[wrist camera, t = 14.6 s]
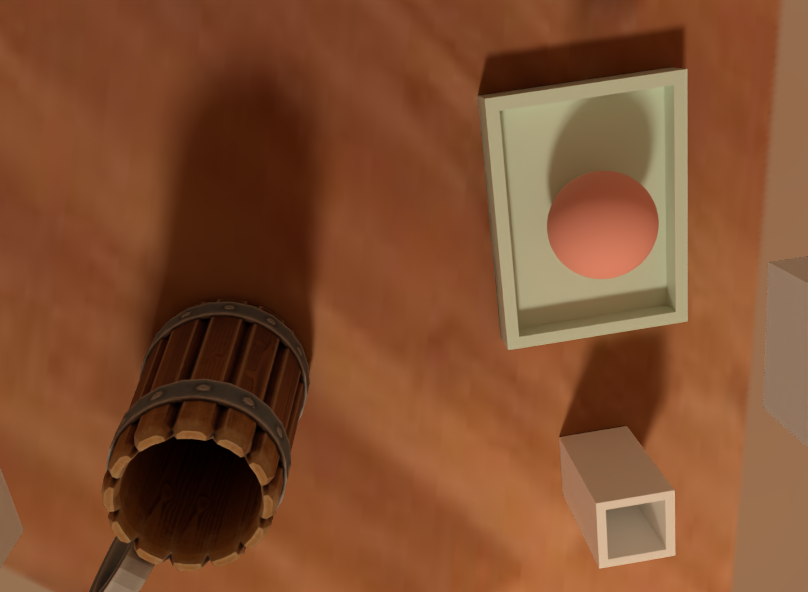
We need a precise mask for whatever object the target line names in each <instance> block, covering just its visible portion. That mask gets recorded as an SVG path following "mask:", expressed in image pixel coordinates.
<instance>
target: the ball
mask: <svg viewBox="0 0 808 592" xmlns="http://www.w3.org/2000/svg"><path fill="white" fill-rule="evenodd" d="M658 228H659V220H658V213H657V208H656V206H655V203H654V201H653V199H652V197H651V196H650V194H649V193H648V191H647V190H646V189H645V188H644V187H643V186H642V185H641V184H640V183H639V182H637V181H636V180H634V179H633V178H631V177H629V176H627V175H624V174H622V173H619V172H614V171H594V172H589V173H586V174H583V175H581V176H579V177H577V178H575V179H574V180H572V181H570V182H569V183H568V184H567V185H565V186H564V187H563V188H562V189H561V190H560V192H559V193H558V194H557V196H556V197H555V199H554V201H553V202H552V205H551V207H550V210H549V214H548V219H547V233H548V239H549V242H550V245H551V248H552V250H553V251H554V253H555V255H556V256H557V258H558V259H559V260H560V261H561V262H562V263H563V264H564V265H565V266H566V267H567V268H568V269H570V270H572V271H573V272H575V273H577V274H579V275H582V276H585V277H588V278H593V279H610V278H615V277H619V276H621V275H624V274H626V273H628V272H630V271H632V270H633V269H635V268H636V267H637V266H639V265H640V264H641V263H642V262H643V261H644V260H645V259H646V258H647V256H648V255H649V253H650V252H651V250H652V248H653V246H654V244H655V241H656V238H657V234H658Z"/></svg>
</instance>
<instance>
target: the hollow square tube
mask: <svg viewBox="0 0 808 592" xmlns="http://www.w3.org/2000/svg"><path fill="white" fill-rule="evenodd" d="M559 443H560V457H561V472H562V486H563V496H564V498H565V500H566V502H567V504H568V506H569V508H570V510H571V512H572V514H573V516H574V518H575V520H576V522H577V524H578V526H579V529H580V531H581V533H582V535H583V537H584V539H585V541H586V543H587V545H588V547H589V549H590V551H591V553H592V555H593V557H594V559H595V561H596V563H597V565H598V567H599V569H600V568H606V567H611V566H617V565H623V564H629V563H635V562H640V561H646V560H652V559H658V558H664V557H669V556H675V490H674V489H673V487H672V486H671V485H670V483H669V482H668V481H667V479H666V478H665V477H664V475H663V474H662V472H661V471H660V470H659V468H658V467H657V466H656V464H655V463H654V462H653V460H652V459H651V458H650V456H649V455H648V454H647V452H646V451H645V450H644V448H643V447H642V446H641V444H640V443H639V441H638V440H637V439H636V437H635V436H634V435H633V433H632V432H631V431H630V429H629V428H628V427H627V426H624V427H618V428H612V429H605V430H599V431H593V432H587V433H581V434H575V435H569V436H563V437H559Z"/></svg>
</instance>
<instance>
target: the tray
mask: <svg viewBox="0 0 808 592" xmlns="http://www.w3.org/2000/svg"><path fill="white" fill-rule="evenodd" d="M478 104H479V114H480V125H481V135H482V146H483V156H484V166H485V177H486V187H487V198H488V208H489V218H490V229H491V239H492V250H493V260H494V271H495V281H496V291H497V302H498V312H499V323H500V333H501V338H502V340H503V342H504V344H505V346H506V347H507V349H508V350H512V349H518V348H525V347H531V346H537V345H543V344H550V343H556V342H562V341H568V340H575V339H581V338H587V337H593V336H600V335H606V334H612V333H618V332H625V331H631V330H637V329H643V328H649V327H656V326H662V325H668V324H674V323H681V322H687V321H688V176H687V69H683V68H673V67H670V68H663V69H656V70H649V71H642V72H636V73H629V74H622V75H615V76H608V77H602V78H595V79H588V80H581V81H574V82H567V83H561V84H554V85H547V86H540V87H533V88H527V89H520V90H513V91H506V92H499V93H493V94H486V95H479V96H478ZM594 171H614V172H619V173H622V174H624V175H627V176H629V177H631V178H633V179H634V180H636V181H637V182H639V183H640V184H641V185H642V186H643V187H644V188H645V189H646V190H647V191H648V193H649V194H650V196H651V197H652V199H653V201H654V203H655V206H656V208H657V213H658V220H659V228H658V234H657V238H656V241H655V244H654V246H653V248H652V250H651V252H650V253H649V255H648V256H647V258H646V259H645V260H644V261H643V262H642V263H641V264H640V265H639V266H637V267H636V268H635V269H633V270H632V271H630V272H628V273H626V274H624V275H621V276H619V277H615V278H610V279H593V278H588V277H585V276H582V275H579V274H577V273H575V272H573V271H572V270H570V269H568V268H567V267H566V266H565V265H564V264H563V263H562V262H561V261H560V260H559V259H558V258H557V256H556V255H555V253H554V251H553V250H552V248H551V245H550V242H549V239H548V233H547V219H548V214H549V210H550V207H551V205H552V202H553V201H554V199H555V197H556V196H557V194H558V193H559V192H560V190H561V189H562V188H563V187H564V186H565V185H567V184H568V183H569V182H570V181H572V180H574V179H575V178H577V177H579V176H581V175H583V174H586V173H589V172H594Z"/></svg>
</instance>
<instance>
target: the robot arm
mask: <svg viewBox="0 0 808 592" xmlns="http://www.w3.org/2000/svg"><path fill="white" fill-rule="evenodd" d="M765 346H766V347H765V371H764V397H763V399H764V400H763V408H764V409H765V410H766V411H767V412H768V413H769V414H770V415H772V416H773V417H774V418H775V419H776V420H777V421H778V422H780V423H781V424H782V425H783V426H784V427H785V428H786V429H788V430H789V431H790V432H791V433H792V434H793V435H794V436H795V437H797V438H798V439H799V440H800V441H801V442H802V443H804V444H805V445H806V446H807V447H808V256H805V257H799V258H793V259H786V260H780V261H774V262H769V267H768V293H767V320H766V345H765ZM23 531H24V530H23V527H22V524H21V522H20V519H19V516H18V514H17V511H16V508H15V506H14V503H13V500H12V498H11V495H10V492H9V490H8V487H7V484H6V482H5V479H4V476H3V474H2V471H1V468H0V568H1V566H2V565H3V563H4V561H5V560H6V558H7V557H8V555H9V553H10V552H11V550H12V549H13V547H14V545H15V544H16V542H17V541H18V539H19V537H20V536H21V534H22V532H23Z"/></svg>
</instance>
